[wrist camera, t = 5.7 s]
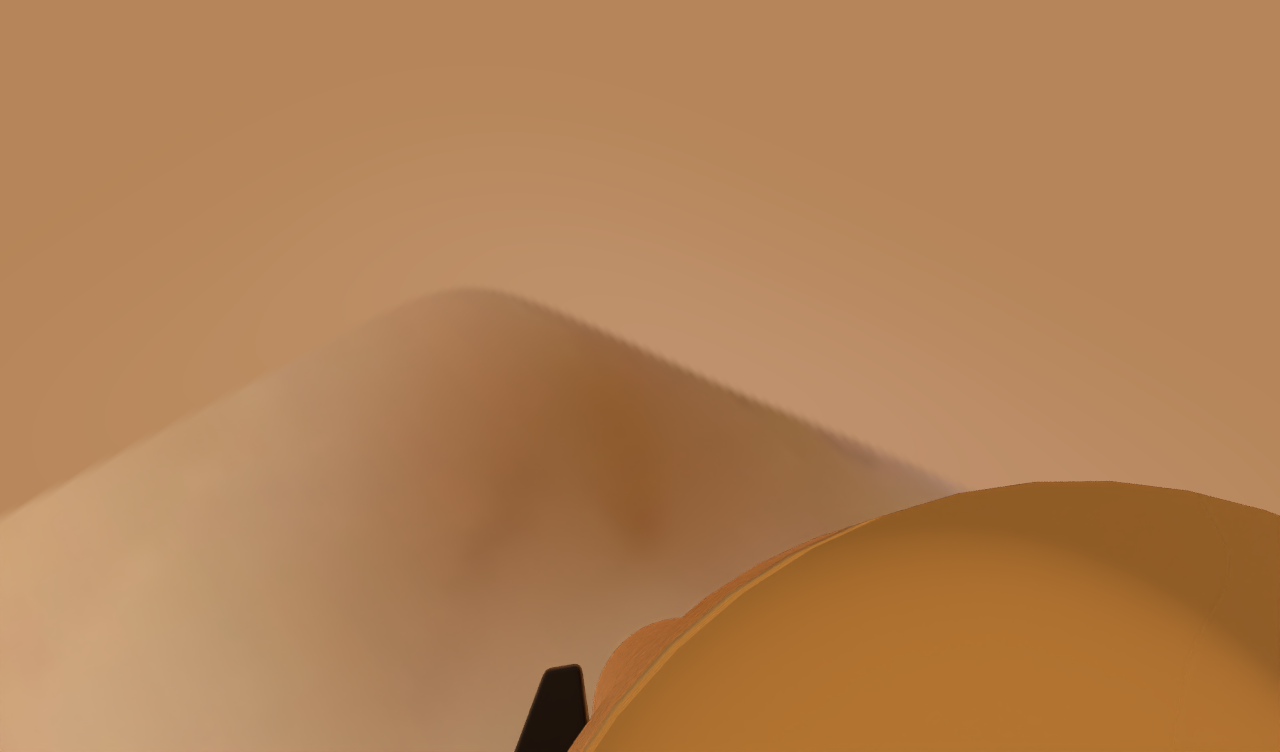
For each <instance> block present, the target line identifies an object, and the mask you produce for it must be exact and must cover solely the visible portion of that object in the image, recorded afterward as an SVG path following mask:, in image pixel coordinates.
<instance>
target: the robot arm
mask: <svg viewBox="0 0 1280 752" xmlns="http://www.w3.org/2000/svg"><path fill="white" fill-rule="evenodd" d="M588 721H589V714H588V707H587V700H586V693H585V686H584V679H583V673H582V668H581V667H580V666H579V665H577V664H571V665H565V666H559V667H553V668H550V669H548V670H546V671H545V673H544V675H543V677H542V679H541V682H540V684H539V687H538V690H537V692H536V695H535V698H534V700H533V703H532V706H531V708H530V711H529V714H528V716H527V719H526V722H525V725H524V727H523V730H522V733H521V735H520V738H519V741H518V743H517V746H516V749H515V751H514V752H568V750H569V748H570V747H571V746H572V744H573V743H574V741H575V740H576V738H577V737H578V736H579V734H580V733H581V731H582V730H583V728H584V727H585V725H586V724H587V723H588Z"/></svg>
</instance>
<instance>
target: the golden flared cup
mask: <svg viewBox="0 0 1280 752" xmlns="http://www.w3.org/2000/svg"><path fill="white" fill-rule="evenodd" d="M568 752H1280V516H1279V515H1276V514H1274V513H1271V512H1268V511H1266V510H1262V509H1258V508H1254V507H1250V506H1246V505H1242V504H1238V503H1235V502H1231V501H1227V500H1222V499H1219V498H1215V497H1211V496H1207V495H1203V494H1199V493H1195V492H1191V491H1186V490H1178V489H1170V488H1162V487H1153V486H1146V485H1138V484H1130V483H1121V482H1113V481H1095V482H1094V481H1093V482H1092V481H1091V482H1090V481H1089V482H1088V481H1087V482H1032V483H1025V484H1018V485H1011V486H1005V487H998V488H992V489H985V490H978V491H971V492H964V493H958V494H955V495H952V496H948V497H945V498H941V499H938V500H935V501H931V502H928V503H925V504H921V505H918V506H915V507H911V508H908V509H905V510H901V511H898V512H894V513H891V514H888V515H884V516H881V517H878V518H875V519H872V520H869V521H866V522H863V523H860V524H857V525H854V526H851V527H848V528H845V529H842V530H838V531H835V532H832V533H829V534H826V535H823V536H820V537H817V538H814V539H812V540H810V541H807V542H805V543H803V544H801V545H799V546H797V547H794V548H792V549H790V550H788V551H786V552H783V553H781V554H779V555H777V556H775V557H773V558H770V559H768V560H766V561H764V562H762V563H759V564H758V565H756V566H754V567H753V568H751V569H750V570H748V571H747V572H745V573H744V574H742V575H740V576H739V577H737V578H736V579H734V580H733V581H731V582H729V583H728V584H726V585H725V586H723V587H722V588H720V589H718V590H717V591H715V592H714V593H712V594H711V595H709V596H707V597H706V598H705V599H703V600H702V601H701V602H700V603H699V604H698V605H696V606H695V607H694V608H693V609H692V610H690V611H689V612H688V613H687V614H686V615H685V616H683V617H682V618H673V619H667V620H662V621H659V622H656V623H652V624H650V625H648V626H646V627H644V628H642V629H640V630H639V631H637V632H635V633H634V634H632V635H631V636H630V637H629V638H627V639H626V640H625V641H624V642H623V643H622V644H621V645H620V646H619V647H618V648H617V649H616V650H615V651H614V653H613V654H612V656H611V657H610V659H609V660H608V661H607V663H606V665H605V667H604V669H603V671H602V673H601V675H600V678H599V681H598V683H597V687H596V691H595V695H594V702H593V715H592V717H591V718H590V720H589V721H588V723H587V724H586V725H585V727H584V728H583V730H582V731H581V733H580V734H579V736H578V737H577V738H576V740H575V741H574V743H573V744H572V746H571V747H570V748H569V750H568Z"/></svg>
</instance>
